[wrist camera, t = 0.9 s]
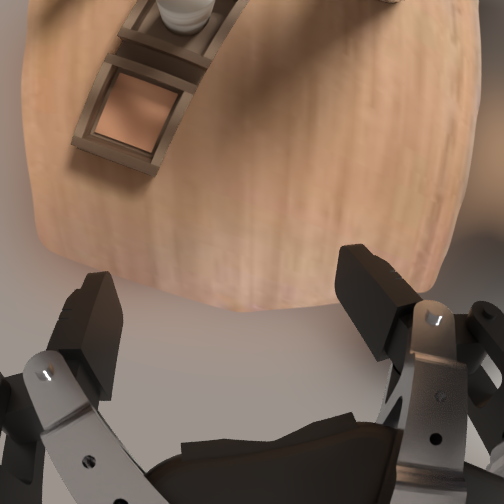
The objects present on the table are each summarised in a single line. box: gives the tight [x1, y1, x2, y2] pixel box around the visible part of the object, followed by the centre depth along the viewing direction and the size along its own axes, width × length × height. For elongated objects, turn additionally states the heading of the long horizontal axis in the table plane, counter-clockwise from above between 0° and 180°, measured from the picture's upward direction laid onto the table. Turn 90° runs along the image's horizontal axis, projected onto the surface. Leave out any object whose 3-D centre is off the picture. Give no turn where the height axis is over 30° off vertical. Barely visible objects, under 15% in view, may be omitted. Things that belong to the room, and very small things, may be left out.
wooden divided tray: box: [71, 0, 249, 177], centre depth 23 cm, size 24×10×12 cm, turn 152°
